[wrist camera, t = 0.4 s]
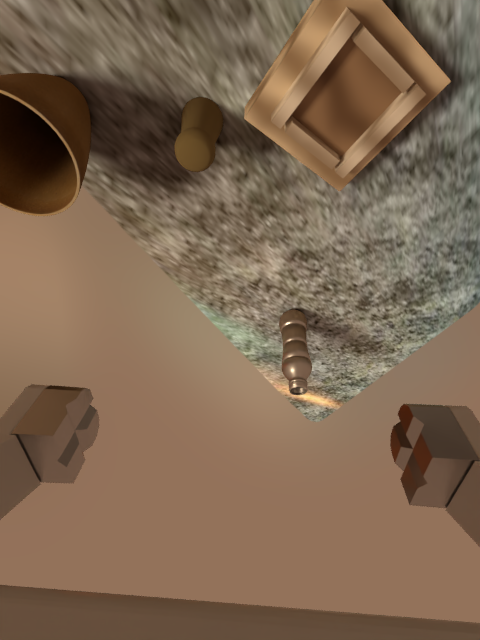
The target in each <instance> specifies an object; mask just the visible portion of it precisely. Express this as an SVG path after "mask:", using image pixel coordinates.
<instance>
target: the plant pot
mask: <svg viewBox="0 0 480 640" xmlns="http://www.w3.org/2000/svg"><path fill="white" fill-rule="evenodd" d="M90 143H91V120H90V112H89V107H88V104H87V102H86V100H85V98H84V96H83V95H82V93H81V92H80V91H79V90H78V89H77V88H76V87H75V86H74V85H73V84H72V83H70V82H69V81H67V80H65V79H63V78H61V77H57V76H53V75H47V74H37V73H18V74H7V75H0V205H2V206H4V207H6V208H9V209H12V210H14V211H16V212H20V213H24V214H28V215H34V216H49V215H55V214H58V213H61V212H63V211H64V210H66V209H68V208H69V207H70V206H71V205H72V204H73V203H74V201H75V200H76V198H77V196H78V194H79V191H80V188H81V185H82V182H83V179H84V176H85V172H86V168H87V163H88V159H89V152H90Z"/></svg>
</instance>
